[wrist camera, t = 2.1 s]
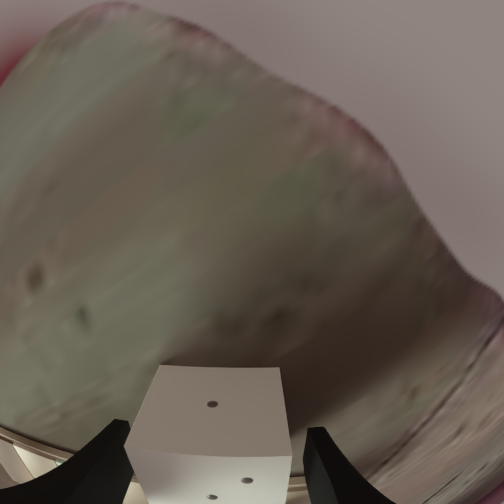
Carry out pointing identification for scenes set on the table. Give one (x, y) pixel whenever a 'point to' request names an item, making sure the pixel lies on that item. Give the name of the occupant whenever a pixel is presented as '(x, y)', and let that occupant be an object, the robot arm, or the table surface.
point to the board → (47, 458)
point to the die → (212, 437)
